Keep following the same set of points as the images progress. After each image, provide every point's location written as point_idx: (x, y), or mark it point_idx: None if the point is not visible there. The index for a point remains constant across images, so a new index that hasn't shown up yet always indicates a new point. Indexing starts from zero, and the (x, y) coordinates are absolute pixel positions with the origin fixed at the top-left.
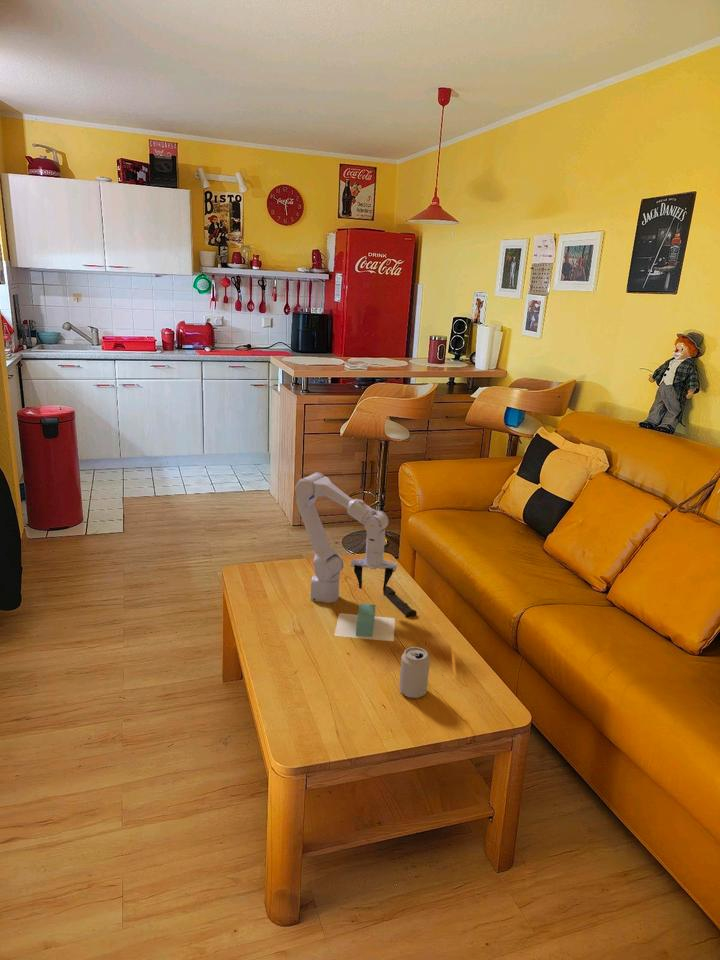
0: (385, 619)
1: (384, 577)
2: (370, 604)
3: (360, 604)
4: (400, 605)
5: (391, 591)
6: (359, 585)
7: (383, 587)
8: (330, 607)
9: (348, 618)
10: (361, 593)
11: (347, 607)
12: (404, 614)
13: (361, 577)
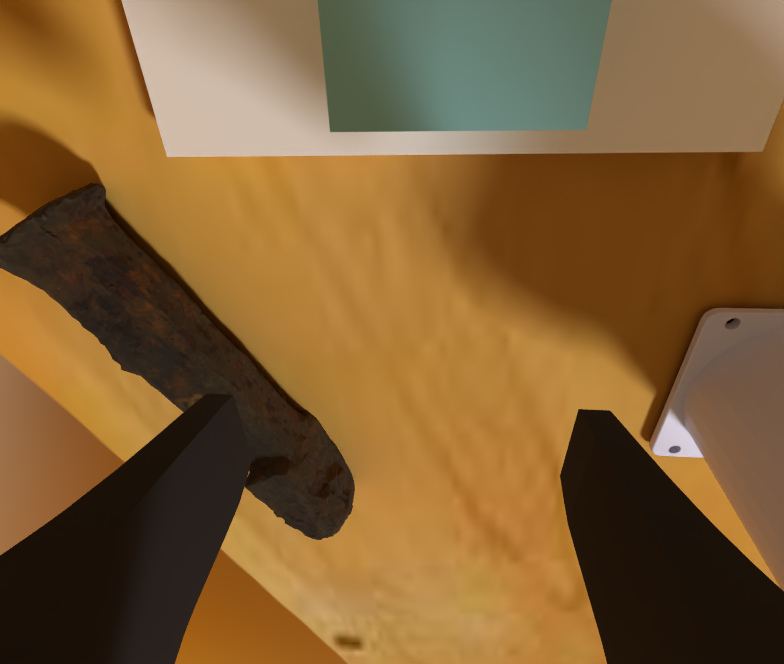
0: (249, 106)
1: (9, 651)
2: (409, 130)
3: (578, 92)
4: (159, 334)
5: (272, 488)
6: (637, 448)
7: (198, 428)
8: (772, 306)
9: (675, 38)
10: (494, 489)
11: (614, 325)
12: (112, 238)
13: (648, 627)
